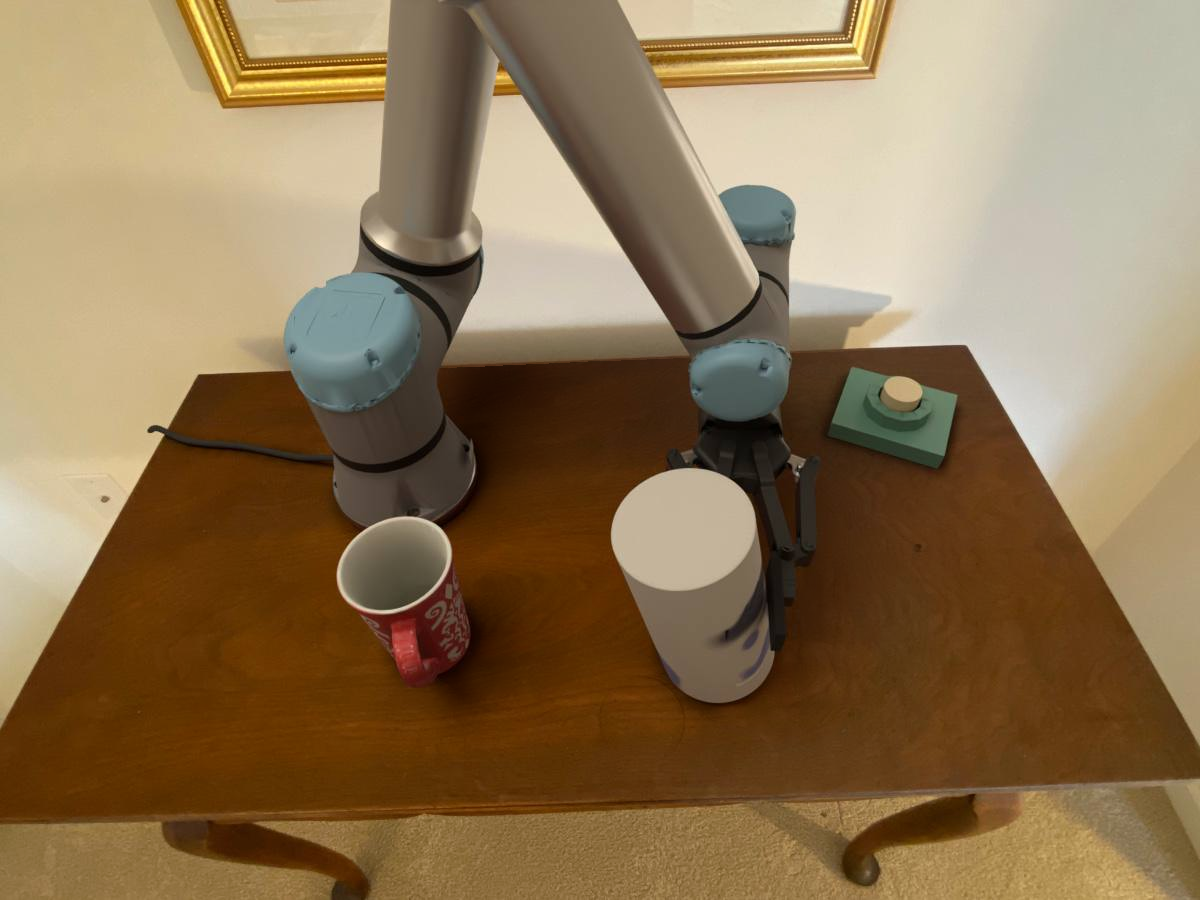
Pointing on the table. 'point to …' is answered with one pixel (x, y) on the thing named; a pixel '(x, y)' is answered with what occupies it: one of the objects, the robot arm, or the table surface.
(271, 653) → the table surface
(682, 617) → the container
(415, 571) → the mug
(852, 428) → the green button base
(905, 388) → the cream push button
